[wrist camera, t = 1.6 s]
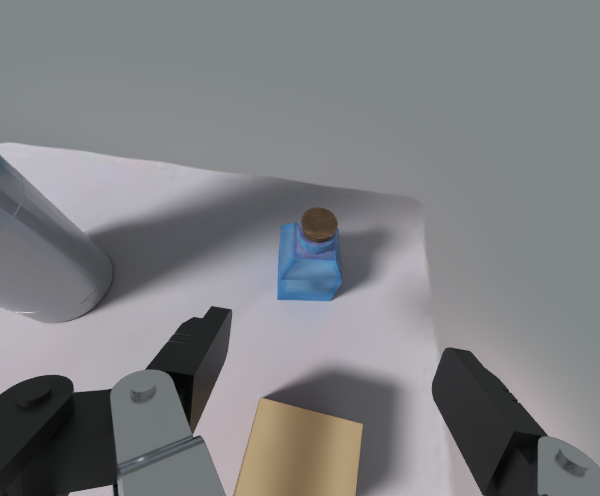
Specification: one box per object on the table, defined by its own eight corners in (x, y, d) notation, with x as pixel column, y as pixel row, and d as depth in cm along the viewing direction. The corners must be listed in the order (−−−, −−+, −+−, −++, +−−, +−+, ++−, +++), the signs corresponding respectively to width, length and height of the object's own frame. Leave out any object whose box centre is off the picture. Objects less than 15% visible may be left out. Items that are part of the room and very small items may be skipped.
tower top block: (231, 514, 22) (224, 535, 19) (261, 398, 26) (260, 397, 22) (334, 542, 22) (347, 568, 19) (349, 421, 26) (362, 424, 22)
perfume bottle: (277, 299, 34) (282, 253, 24) (278, 251, 37) (284, 191, 27) (329, 301, 35) (358, 256, 24) (327, 254, 38) (351, 195, 27)
